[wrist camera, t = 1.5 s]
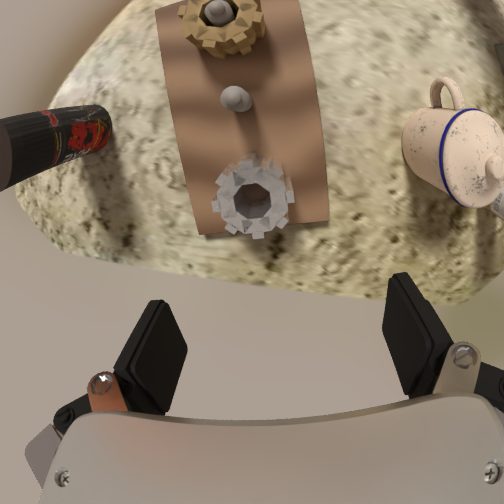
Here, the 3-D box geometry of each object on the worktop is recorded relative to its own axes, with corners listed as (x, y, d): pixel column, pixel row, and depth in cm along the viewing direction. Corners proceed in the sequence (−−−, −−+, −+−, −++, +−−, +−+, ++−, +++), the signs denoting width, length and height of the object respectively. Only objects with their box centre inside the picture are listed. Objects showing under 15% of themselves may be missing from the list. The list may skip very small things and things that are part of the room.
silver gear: (216, 158, 25) (203, 168, 21) (286, 148, 24) (289, 155, 20) (229, 221, 29) (220, 243, 24) (294, 213, 28) (297, 234, 23)
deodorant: (89, 96, 24) (-10, 108, 10) (120, 121, 25) (19, 144, 12) (68, 135, 26) (-25, 167, 13) (96, 161, 28) (4, 205, 14)
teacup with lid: (464, 175, 24) (526, 210, 14) (406, 189, 27) (462, 233, 16) (447, 78, 19) (516, 77, 9) (382, 84, 21) (443, 74, 11)
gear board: (160, 13, 19) (126, -9, 12) (292, -13, 17) (296, -48, 10) (202, 229, 31) (182, 264, 24) (327, 215, 29) (342, 248, 22)
